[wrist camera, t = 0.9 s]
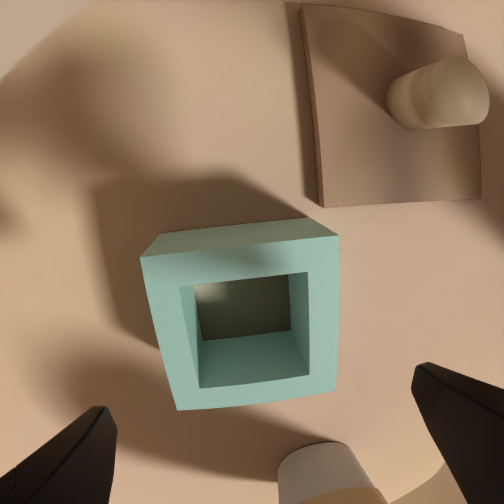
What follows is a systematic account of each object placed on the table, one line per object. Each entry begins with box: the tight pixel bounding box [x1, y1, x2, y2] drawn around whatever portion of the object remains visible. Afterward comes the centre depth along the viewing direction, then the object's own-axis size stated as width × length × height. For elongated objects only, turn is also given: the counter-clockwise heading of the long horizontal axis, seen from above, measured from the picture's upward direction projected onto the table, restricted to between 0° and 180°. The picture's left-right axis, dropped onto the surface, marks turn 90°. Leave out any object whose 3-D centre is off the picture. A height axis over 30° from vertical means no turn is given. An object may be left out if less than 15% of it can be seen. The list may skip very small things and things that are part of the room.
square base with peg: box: [299, 4, 490, 208], centre depth 11 cm, size 10×10×5 cm
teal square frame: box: [140, 217, 339, 410], centre depth 14 cm, size 7×7×4 cm
